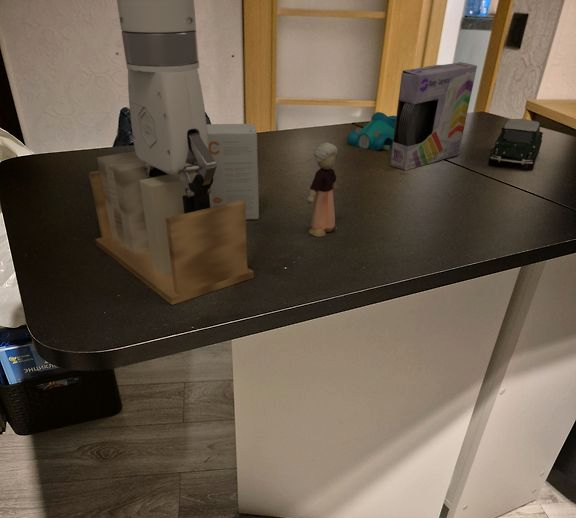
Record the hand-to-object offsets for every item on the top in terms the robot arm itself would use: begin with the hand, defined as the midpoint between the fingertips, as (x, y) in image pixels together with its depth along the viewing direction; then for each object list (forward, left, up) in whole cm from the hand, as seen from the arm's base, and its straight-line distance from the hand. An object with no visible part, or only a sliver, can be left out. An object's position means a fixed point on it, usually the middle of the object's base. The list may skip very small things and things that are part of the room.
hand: (180, 216), depth 67 cm
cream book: (0, 0, -6) cm, 6 cm away
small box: (+17, +14, -8) cm, 23 cm away
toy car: (+73, +33, -8) cm, 81 cm away
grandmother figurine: (+24, 0, -8) cm, 25 cm away
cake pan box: (+67, +16, -8) cm, 69 cm away
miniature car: (+84, +6, -8) cm, 85 cm away
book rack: (0, +4, -7) cm, 8 cm away
